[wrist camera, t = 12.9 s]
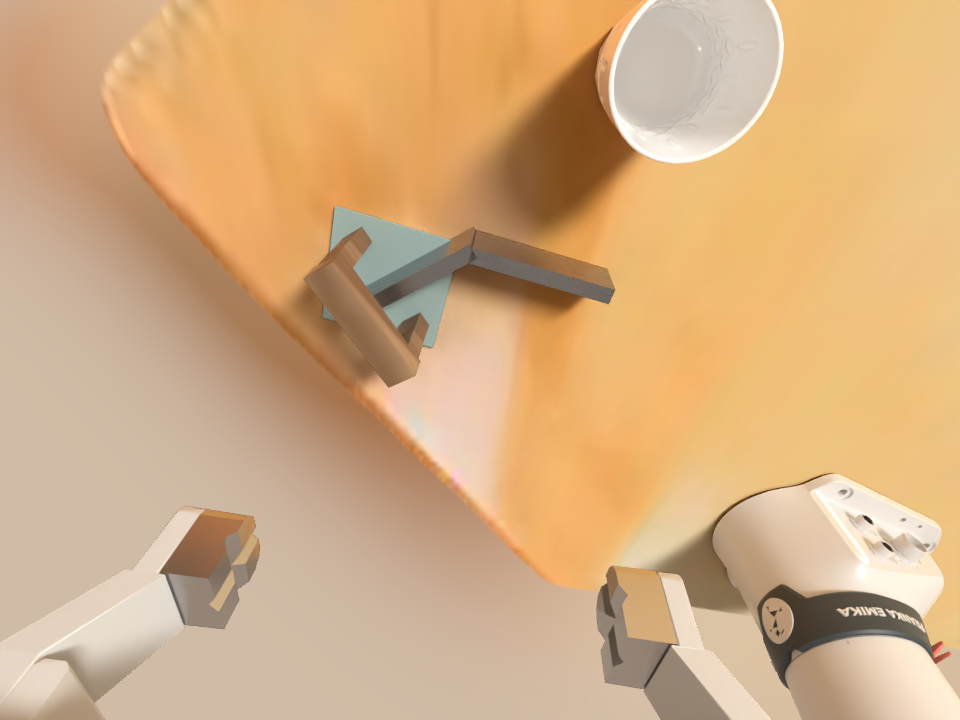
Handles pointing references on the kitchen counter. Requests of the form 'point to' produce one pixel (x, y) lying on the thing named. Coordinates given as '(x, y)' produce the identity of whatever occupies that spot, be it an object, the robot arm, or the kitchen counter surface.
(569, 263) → the rail
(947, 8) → the kitchen counter surface
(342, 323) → the arch
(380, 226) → the pad
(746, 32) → the white cup
